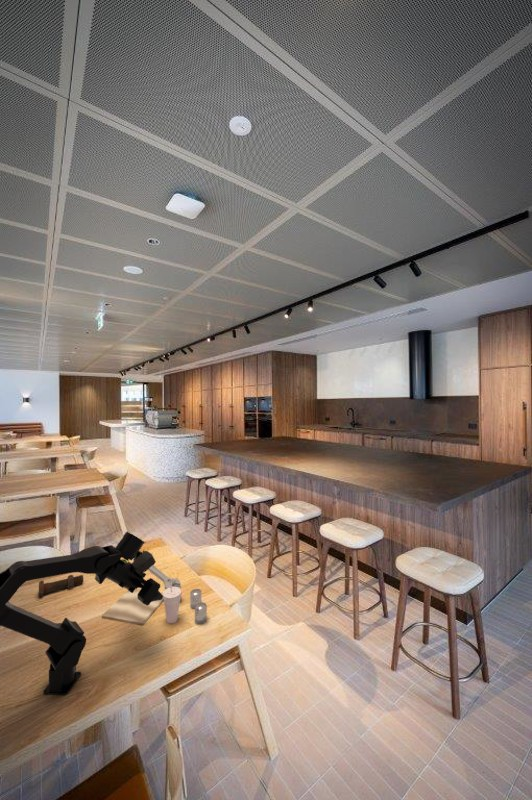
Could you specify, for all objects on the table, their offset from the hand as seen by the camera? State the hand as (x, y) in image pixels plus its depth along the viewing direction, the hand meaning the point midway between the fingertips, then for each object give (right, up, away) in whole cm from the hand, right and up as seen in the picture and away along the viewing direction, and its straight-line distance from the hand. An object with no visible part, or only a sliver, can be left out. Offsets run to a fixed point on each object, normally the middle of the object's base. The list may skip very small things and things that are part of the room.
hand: (154, 591), depth 107 cm
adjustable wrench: (-7, -13, +31) cm, 34 cm away
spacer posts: (+10, -13, +11) cm, 19 cm away
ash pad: (-11, -12, +12) cm, 20 cm away
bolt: (-45, -12, +22) cm, 51 cm away
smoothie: (+4, -13, +5) cm, 14 cm away
